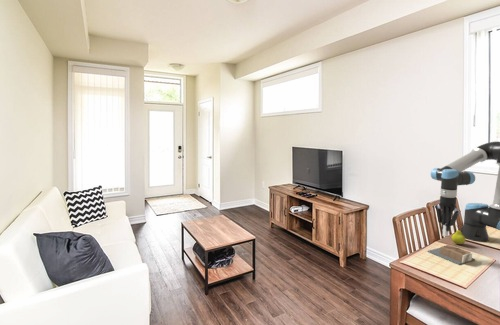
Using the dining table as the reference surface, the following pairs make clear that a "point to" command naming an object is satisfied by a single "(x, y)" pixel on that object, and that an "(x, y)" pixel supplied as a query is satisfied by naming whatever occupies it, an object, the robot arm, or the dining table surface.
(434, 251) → the felt pad
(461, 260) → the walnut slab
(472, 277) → the dining table surface
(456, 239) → the fruit
